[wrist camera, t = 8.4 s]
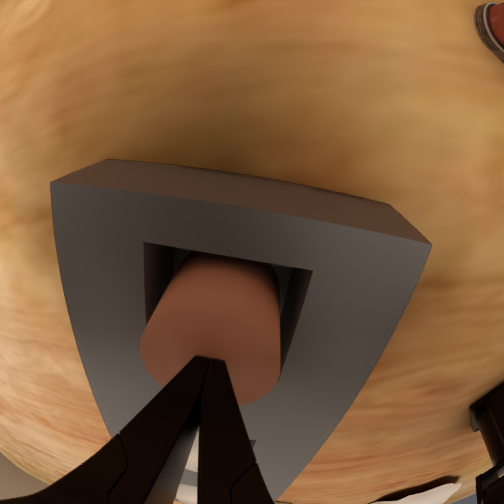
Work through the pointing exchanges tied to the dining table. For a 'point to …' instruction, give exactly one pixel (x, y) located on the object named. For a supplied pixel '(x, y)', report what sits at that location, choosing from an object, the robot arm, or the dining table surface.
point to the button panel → (245, 247)
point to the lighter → (491, 27)
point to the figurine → (428, 496)
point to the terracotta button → (218, 322)
